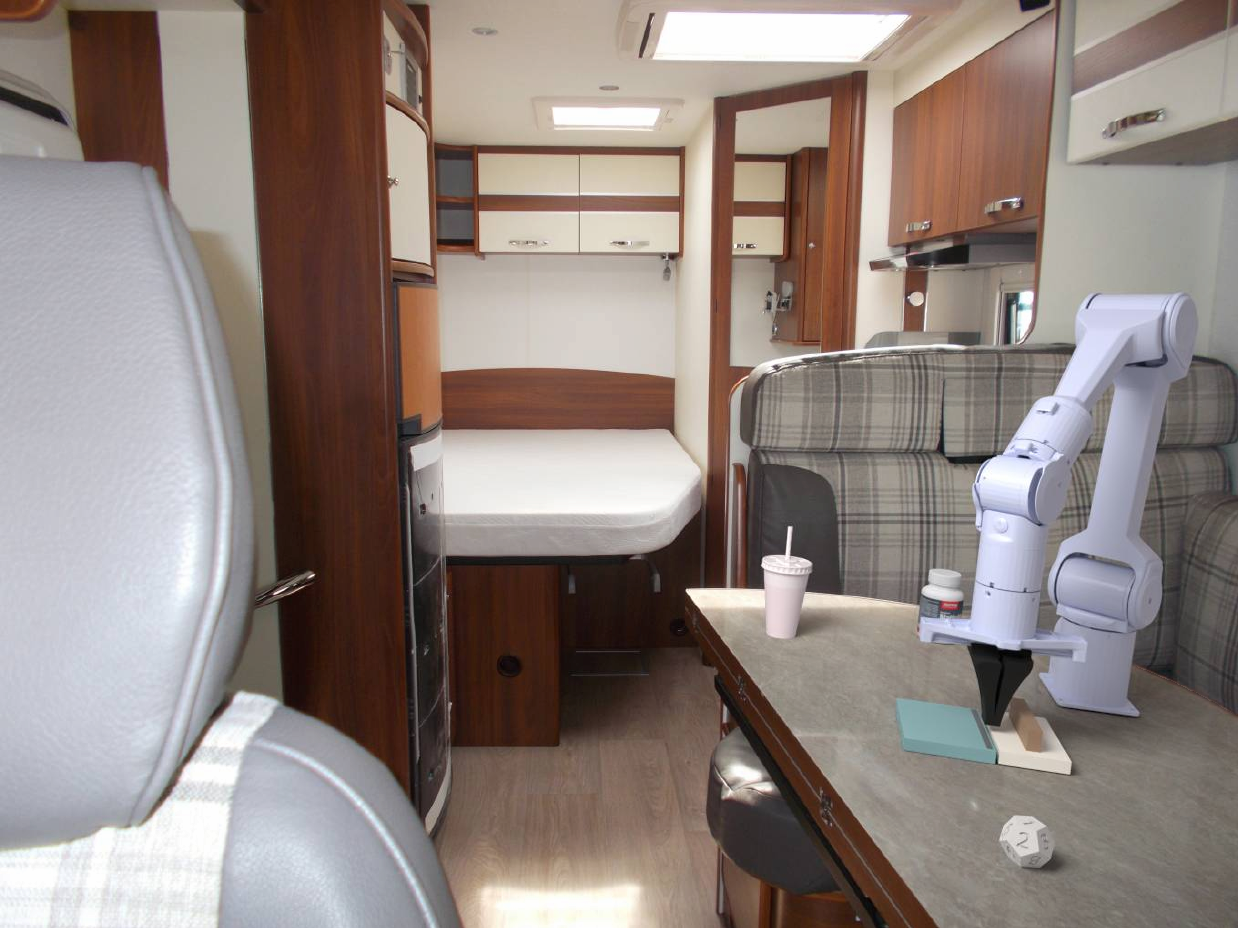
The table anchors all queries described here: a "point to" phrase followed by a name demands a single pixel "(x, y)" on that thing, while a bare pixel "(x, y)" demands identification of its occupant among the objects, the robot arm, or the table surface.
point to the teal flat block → (944, 731)
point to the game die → (1027, 841)
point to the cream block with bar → (1028, 741)
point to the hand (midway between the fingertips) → (990, 721)
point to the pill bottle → (941, 597)
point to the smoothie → (784, 591)
